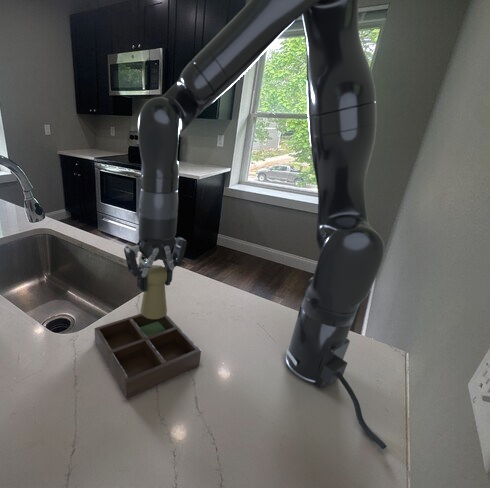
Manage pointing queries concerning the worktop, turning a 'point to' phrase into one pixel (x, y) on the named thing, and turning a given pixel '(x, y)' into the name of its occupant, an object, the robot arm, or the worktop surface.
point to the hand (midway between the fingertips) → (154, 286)
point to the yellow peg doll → (155, 294)
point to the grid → (145, 352)
